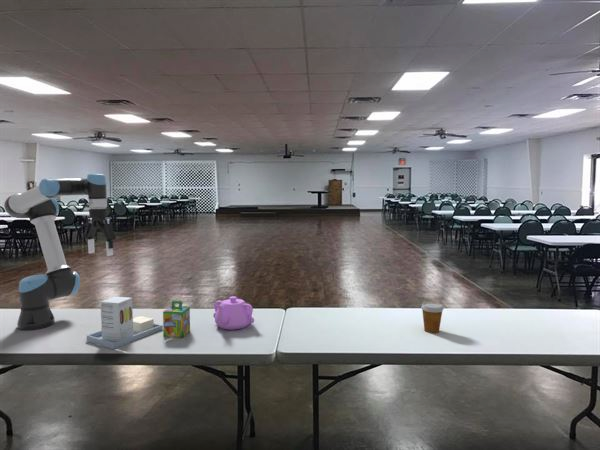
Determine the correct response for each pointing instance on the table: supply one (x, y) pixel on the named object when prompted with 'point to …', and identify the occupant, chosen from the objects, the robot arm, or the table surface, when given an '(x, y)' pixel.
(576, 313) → the table surface
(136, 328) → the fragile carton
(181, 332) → the chalk box
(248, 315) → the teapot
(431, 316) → the disposable coffee cup
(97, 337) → the blue-grey tray
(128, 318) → the supplement box
